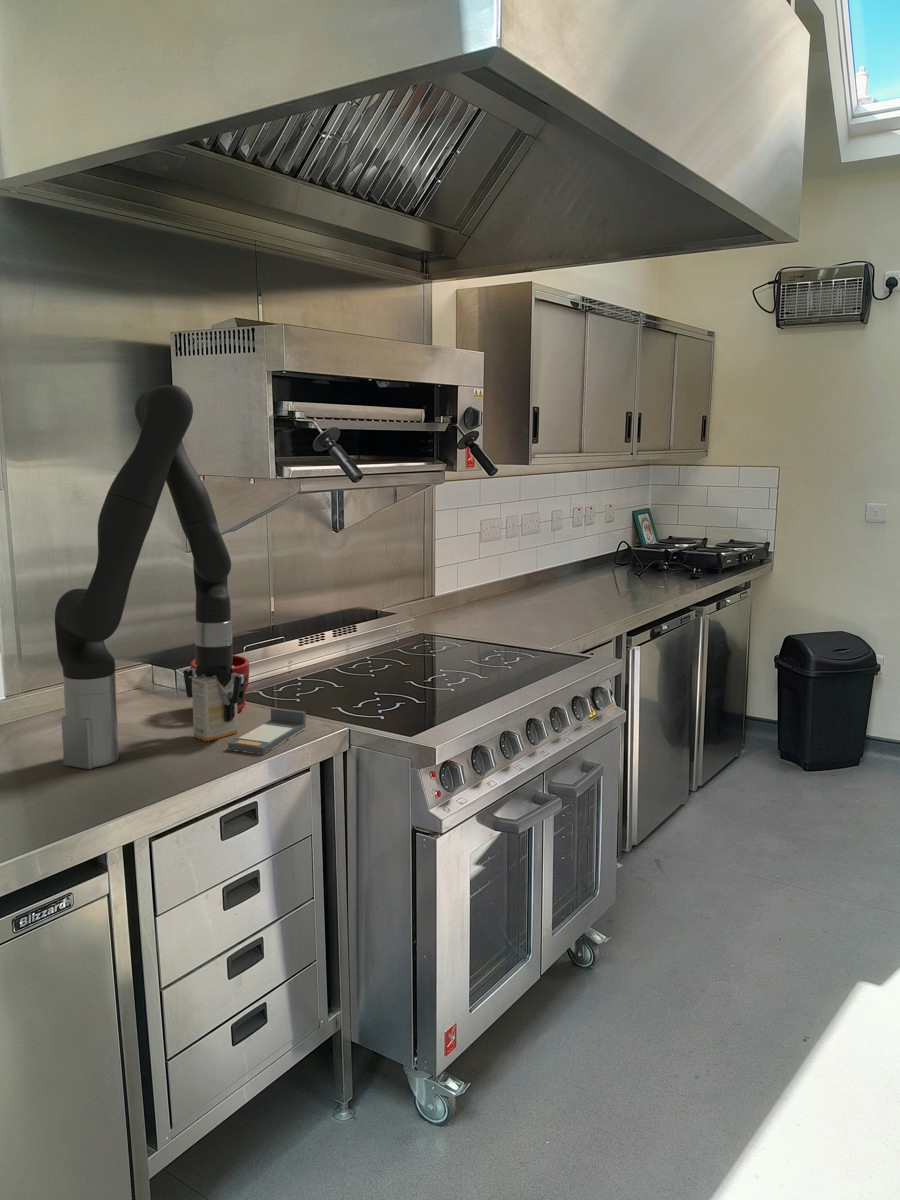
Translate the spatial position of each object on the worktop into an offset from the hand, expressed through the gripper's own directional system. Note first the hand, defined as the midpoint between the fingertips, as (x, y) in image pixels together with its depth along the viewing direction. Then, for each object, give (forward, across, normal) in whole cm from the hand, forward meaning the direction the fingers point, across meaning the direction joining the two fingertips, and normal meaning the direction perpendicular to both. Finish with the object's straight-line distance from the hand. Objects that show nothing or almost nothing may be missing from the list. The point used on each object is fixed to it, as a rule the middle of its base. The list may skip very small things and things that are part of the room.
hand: (215, 719), depth 189 cm
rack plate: (+4, +12, +2) cm, 12 cm away
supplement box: (+4, 0, 0) cm, 4 cm away
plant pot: (+4, -9, +16) cm, 19 cm away
